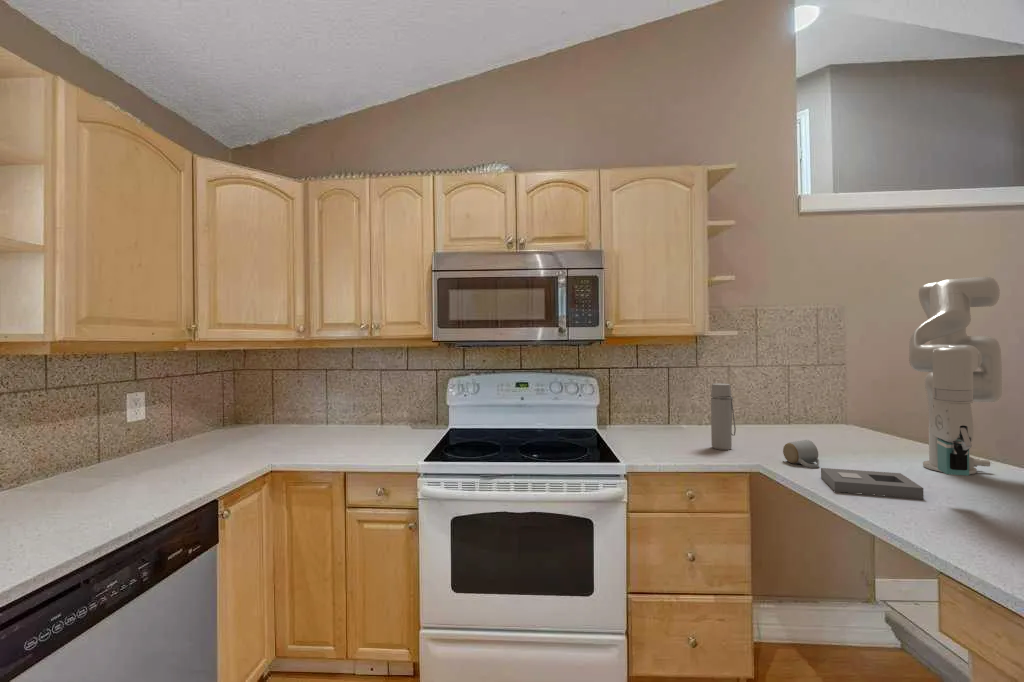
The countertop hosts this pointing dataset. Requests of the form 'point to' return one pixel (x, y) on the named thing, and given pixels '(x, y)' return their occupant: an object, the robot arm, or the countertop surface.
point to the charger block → (948, 458)
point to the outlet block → (871, 483)
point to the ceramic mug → (801, 453)
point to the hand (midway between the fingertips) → (953, 465)
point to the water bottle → (721, 416)
